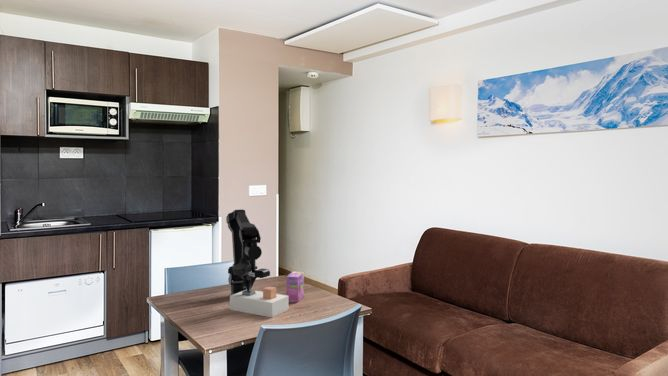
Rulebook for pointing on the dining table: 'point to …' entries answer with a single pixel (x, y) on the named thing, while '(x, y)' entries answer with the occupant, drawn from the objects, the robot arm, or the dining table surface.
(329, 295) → the dining table surface
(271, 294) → the peach square block
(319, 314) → the dining table surface
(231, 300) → the white rectangular block
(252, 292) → the metallic grey block
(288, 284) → the box
